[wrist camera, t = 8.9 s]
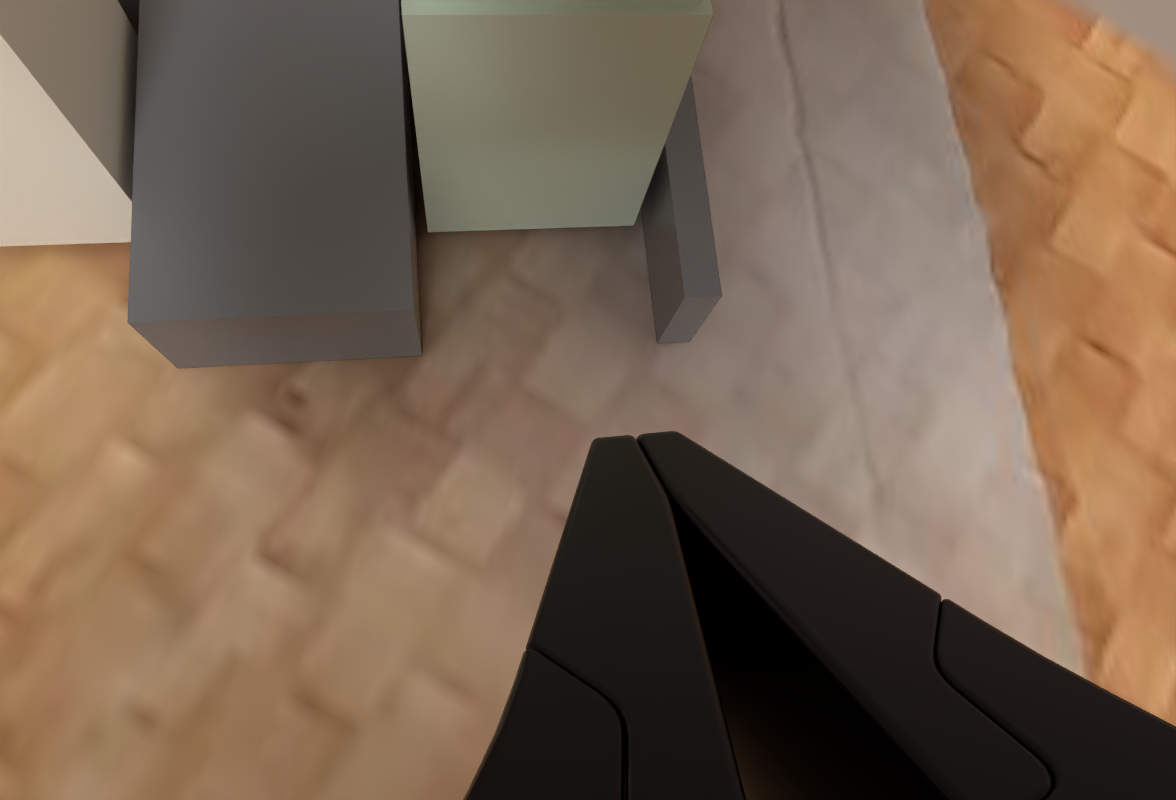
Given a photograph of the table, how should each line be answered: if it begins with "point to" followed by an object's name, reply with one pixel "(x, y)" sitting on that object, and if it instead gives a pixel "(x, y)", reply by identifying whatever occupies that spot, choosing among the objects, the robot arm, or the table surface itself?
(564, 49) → the pale green rectangular block
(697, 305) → the gray two-slot stand
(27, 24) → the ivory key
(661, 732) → the robot arm
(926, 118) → the table surface
